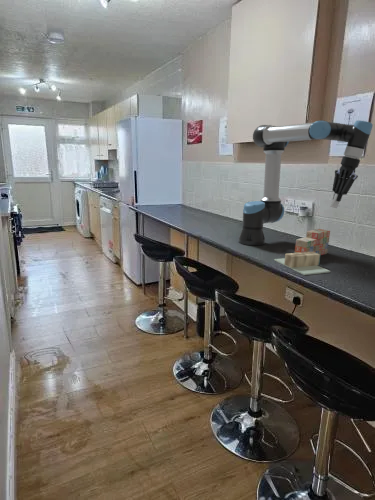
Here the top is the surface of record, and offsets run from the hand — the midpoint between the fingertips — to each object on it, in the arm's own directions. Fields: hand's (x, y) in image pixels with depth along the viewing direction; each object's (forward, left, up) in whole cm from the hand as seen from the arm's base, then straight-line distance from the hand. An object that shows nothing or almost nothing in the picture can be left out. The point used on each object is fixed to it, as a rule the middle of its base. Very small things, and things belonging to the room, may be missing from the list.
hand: (333, 207), depth 157 cm
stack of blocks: (-5, -6, -25) cm, 26 cm away
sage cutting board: (+9, -23, -25) cm, 35 cm away
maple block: (+9, -14, -22) cm, 28 cm away
